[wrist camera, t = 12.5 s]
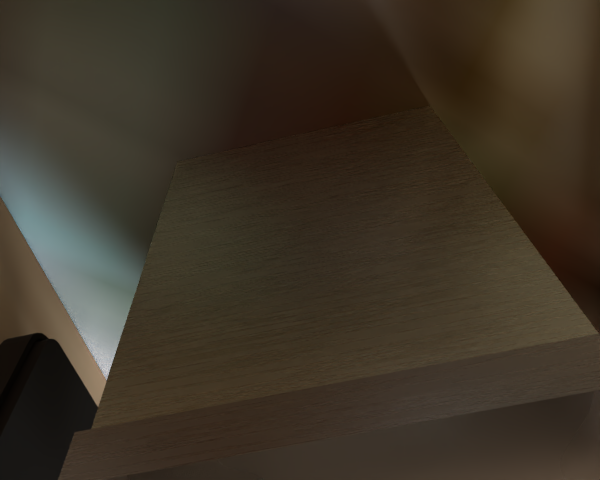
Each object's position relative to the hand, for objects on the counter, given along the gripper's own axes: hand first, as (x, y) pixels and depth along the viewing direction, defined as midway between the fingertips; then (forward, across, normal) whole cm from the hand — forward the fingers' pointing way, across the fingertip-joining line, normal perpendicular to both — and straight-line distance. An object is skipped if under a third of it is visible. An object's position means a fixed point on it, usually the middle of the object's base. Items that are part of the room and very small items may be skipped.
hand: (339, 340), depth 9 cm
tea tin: (+3, 0, 0) cm, 3 cm away
